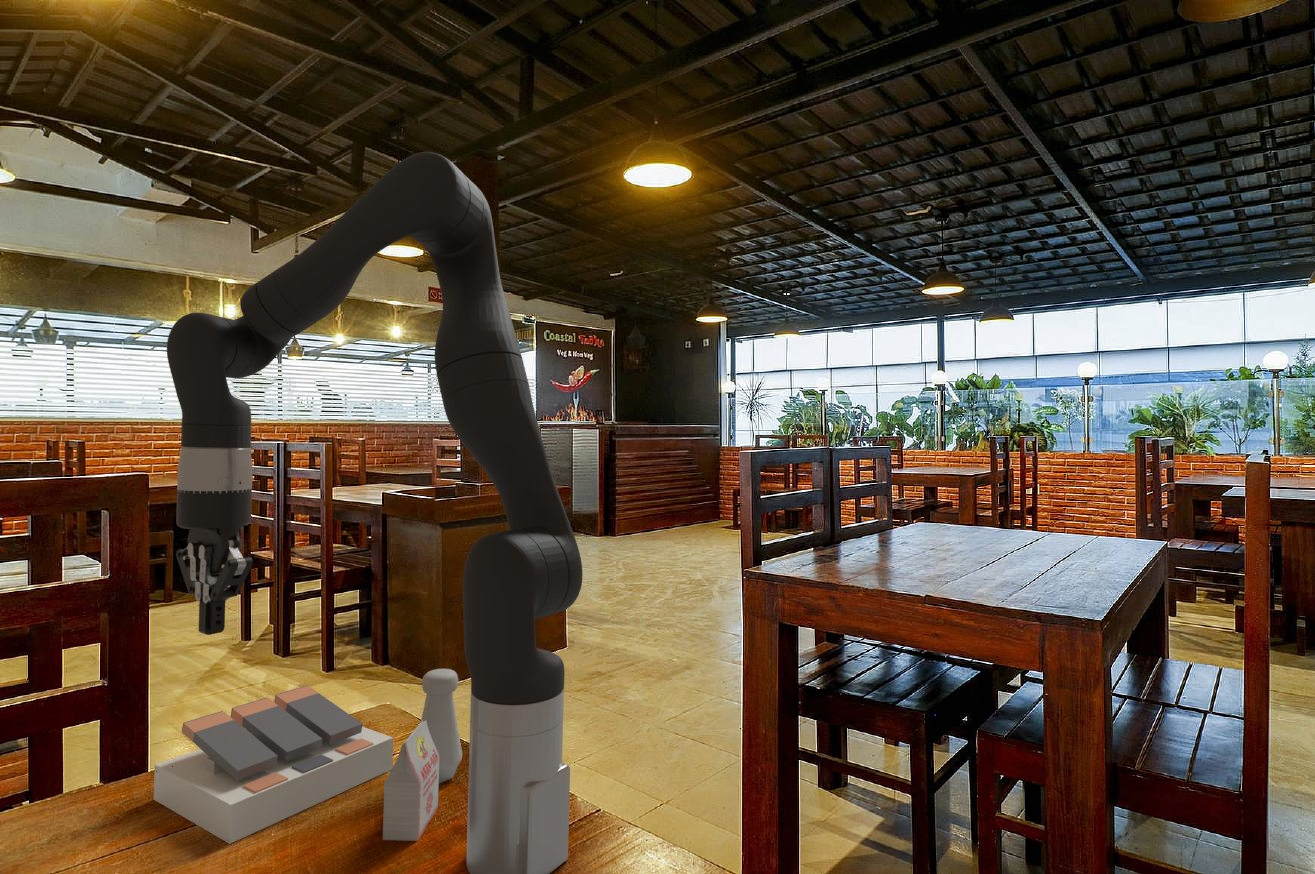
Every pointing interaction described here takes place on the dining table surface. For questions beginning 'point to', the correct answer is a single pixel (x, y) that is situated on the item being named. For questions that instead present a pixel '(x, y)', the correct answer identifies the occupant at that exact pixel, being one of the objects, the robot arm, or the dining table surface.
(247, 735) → the switch
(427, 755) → the white gabled box
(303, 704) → the switch
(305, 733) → the switch
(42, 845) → the dining table surface
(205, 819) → the switch box
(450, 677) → the salt shaker
